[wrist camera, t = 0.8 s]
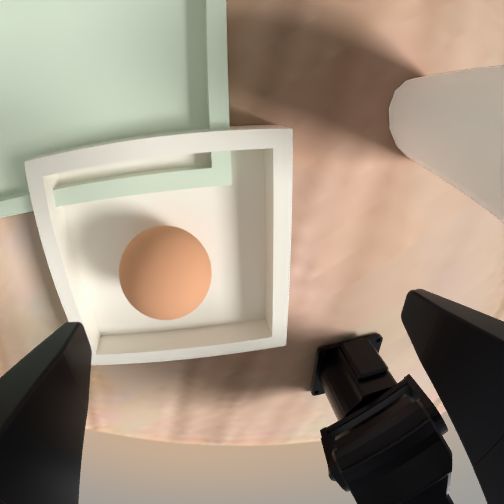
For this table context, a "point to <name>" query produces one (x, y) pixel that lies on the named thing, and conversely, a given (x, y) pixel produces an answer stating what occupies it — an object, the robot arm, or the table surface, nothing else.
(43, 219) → the white square open box
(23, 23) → the tray
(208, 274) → the ball
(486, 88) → the foam cup
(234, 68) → the table surface
